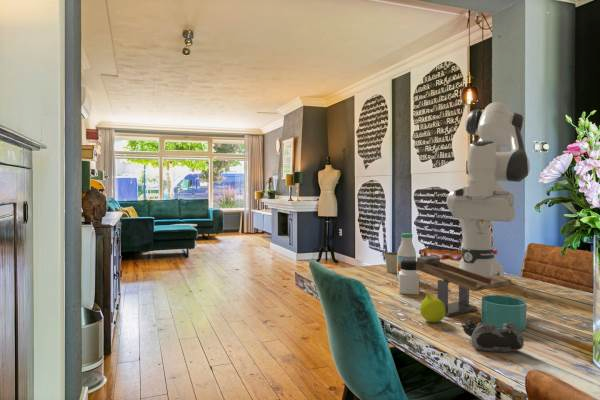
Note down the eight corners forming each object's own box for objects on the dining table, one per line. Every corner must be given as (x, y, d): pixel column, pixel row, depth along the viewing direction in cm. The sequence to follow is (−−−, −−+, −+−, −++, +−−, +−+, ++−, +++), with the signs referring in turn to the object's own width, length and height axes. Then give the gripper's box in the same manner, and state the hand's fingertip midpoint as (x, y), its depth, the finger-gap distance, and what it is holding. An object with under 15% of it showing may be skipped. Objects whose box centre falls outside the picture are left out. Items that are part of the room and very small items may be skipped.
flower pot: (380, 270, 195) (381, 252, 195) (399, 269, 196) (400, 251, 196) (387, 274, 185) (387, 255, 185) (407, 273, 186) (407, 255, 186)
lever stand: (457, 304, 136) (458, 274, 136) (476, 309, 130) (477, 278, 130) (429, 311, 129) (430, 279, 128) (448, 316, 123) (448, 283, 123)
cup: (496, 316, 123) (496, 293, 123) (533, 326, 114) (534, 302, 114) (473, 322, 117) (473, 298, 117) (511, 334, 108) (512, 308, 108)
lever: (451, 266, 147) (453, 252, 147) (510, 285, 129) (512, 270, 129) (415, 271, 137) (417, 257, 137) (473, 294, 119) (476, 277, 118)
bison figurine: (526, 357, 94) (510, 339, 104) (527, 327, 94) (510, 312, 104) (471, 355, 96) (461, 337, 106) (472, 325, 95) (461, 311, 105)
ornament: (416, 318, 122) (416, 284, 121) (439, 317, 122) (439, 284, 122) (425, 326, 114) (425, 290, 114) (449, 325, 115) (450, 290, 115)
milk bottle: (393, 279, 174) (393, 232, 174) (408, 278, 177) (408, 232, 177) (404, 283, 167) (405, 234, 167) (419, 281, 170) (420, 233, 170)
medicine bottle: (419, 294, 149) (419, 262, 148) (399, 293, 150) (399, 261, 150) (417, 290, 156) (418, 259, 155) (398, 289, 157) (398, 258, 157)
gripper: (519, 191, 125) (518, 236, 125) (460, 190, 142) (460, 230, 142) (507, 191, 121) (507, 238, 122) (448, 191, 138) (448, 231, 139)
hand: (481, 233), depth 132 cm, fingers closed
